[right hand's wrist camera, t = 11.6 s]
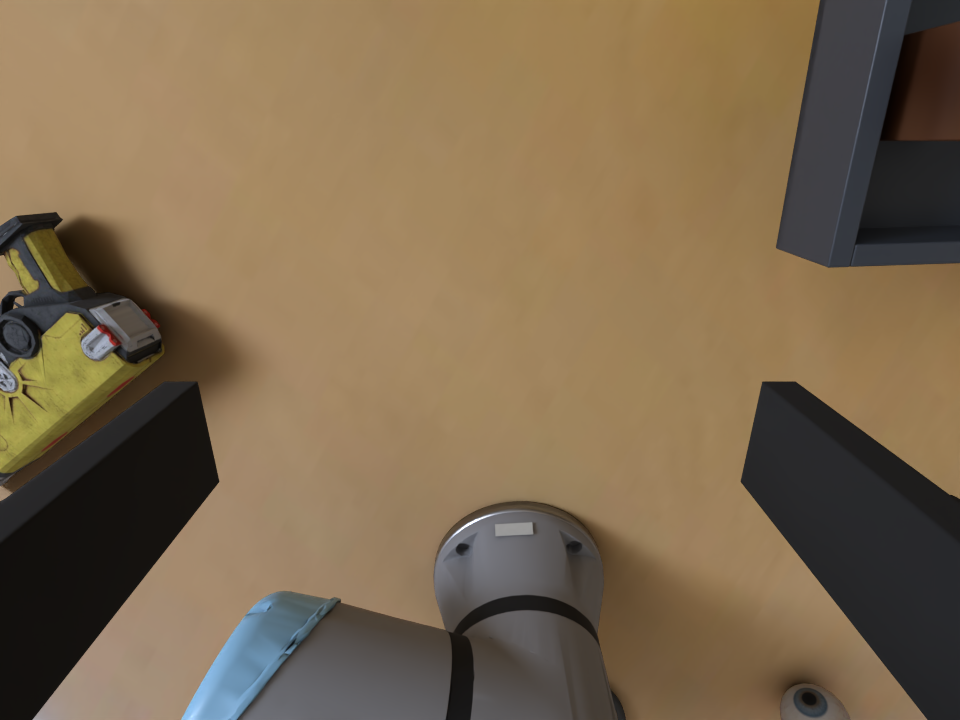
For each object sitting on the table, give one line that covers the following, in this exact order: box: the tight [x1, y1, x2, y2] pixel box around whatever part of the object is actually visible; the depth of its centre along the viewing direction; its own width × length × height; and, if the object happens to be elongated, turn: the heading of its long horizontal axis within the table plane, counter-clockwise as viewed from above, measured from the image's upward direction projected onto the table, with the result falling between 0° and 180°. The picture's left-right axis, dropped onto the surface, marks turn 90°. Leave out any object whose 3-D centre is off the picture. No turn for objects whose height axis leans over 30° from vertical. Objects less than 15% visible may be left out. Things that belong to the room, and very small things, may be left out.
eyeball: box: [780, 683, 850, 720], centre depth 52 cm, size 6×6×6 cm
